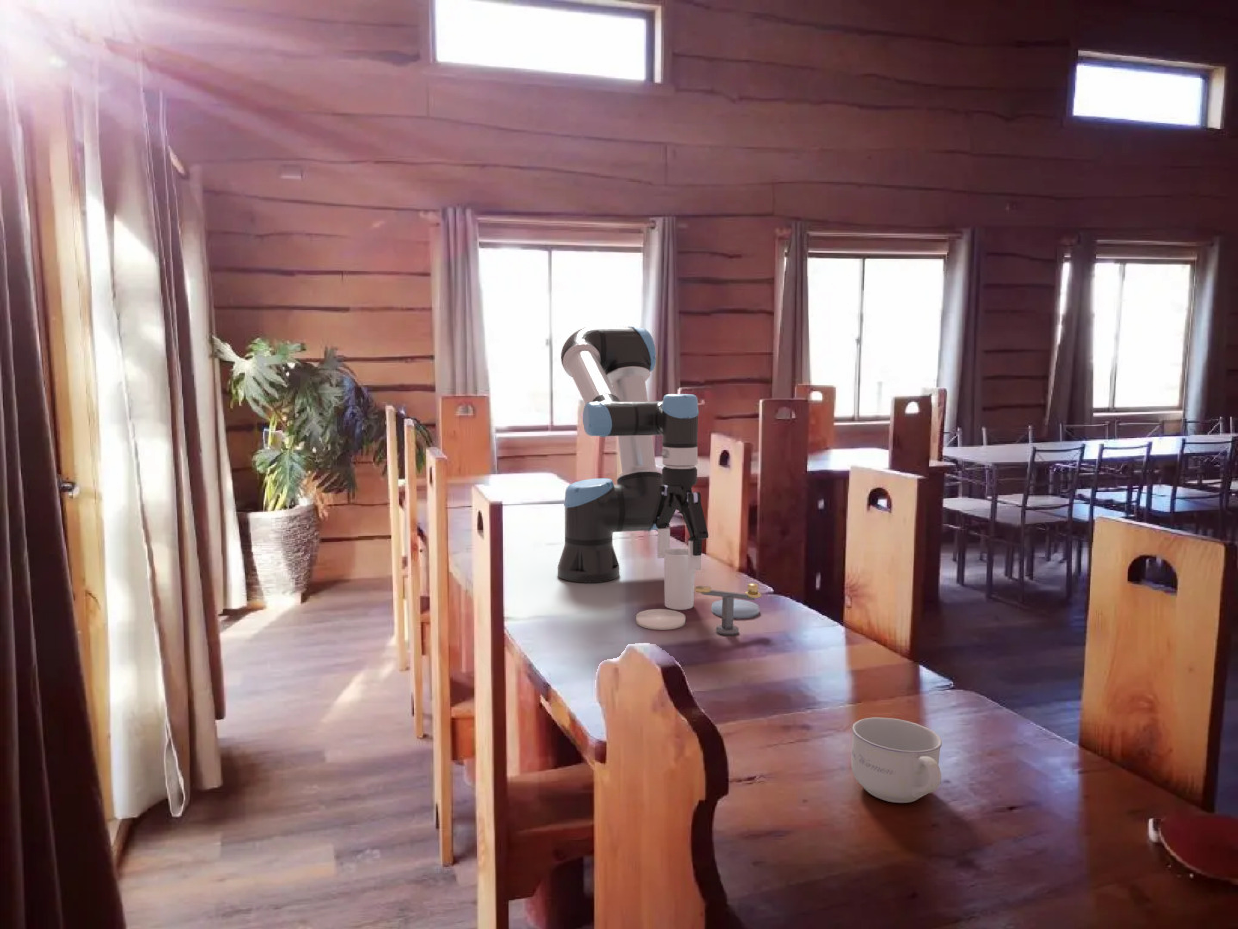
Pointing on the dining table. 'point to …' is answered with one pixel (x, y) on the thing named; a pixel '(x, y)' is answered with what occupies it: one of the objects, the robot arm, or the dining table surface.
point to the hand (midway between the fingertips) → (678, 563)
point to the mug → (678, 580)
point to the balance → (729, 605)
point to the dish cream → (660, 619)
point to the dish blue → (738, 609)
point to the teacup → (895, 758)
